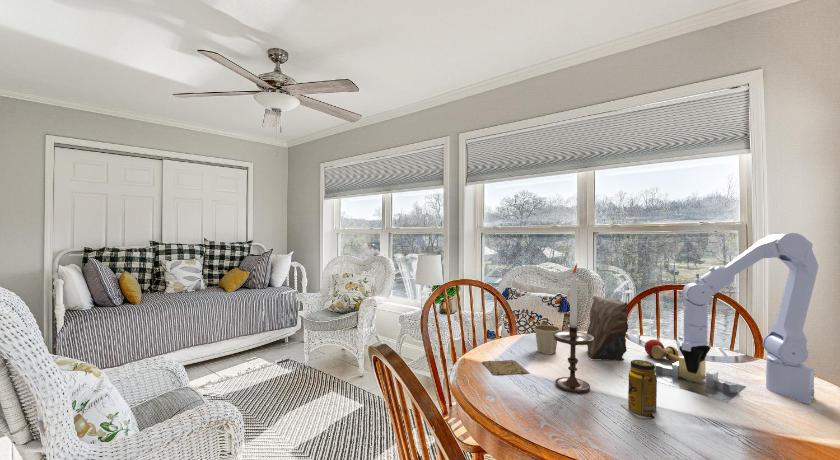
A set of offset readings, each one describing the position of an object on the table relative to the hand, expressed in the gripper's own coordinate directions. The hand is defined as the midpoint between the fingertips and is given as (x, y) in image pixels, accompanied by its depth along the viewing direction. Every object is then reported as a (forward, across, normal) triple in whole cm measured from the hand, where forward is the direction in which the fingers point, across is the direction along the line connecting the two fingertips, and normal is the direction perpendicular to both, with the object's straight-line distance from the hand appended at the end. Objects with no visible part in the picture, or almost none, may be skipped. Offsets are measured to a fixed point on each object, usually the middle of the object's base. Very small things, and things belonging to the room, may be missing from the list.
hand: (694, 370), depth 114 cm
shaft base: (+3, +2, 0) cm, 4 cm away
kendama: (+4, -13, -12) cm, 18 cm away
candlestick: (+4, +32, -20) cm, 38 cm away
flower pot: (+4, +11, -42) cm, 44 cm away
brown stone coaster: (+4, +36, -40) cm, 54 cm away
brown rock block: (+4, -1, -28) cm, 29 cm away
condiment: (+4, +31, 0) cm, 31 cm away
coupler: (+2, 0, -1) cm, 2 cm away
